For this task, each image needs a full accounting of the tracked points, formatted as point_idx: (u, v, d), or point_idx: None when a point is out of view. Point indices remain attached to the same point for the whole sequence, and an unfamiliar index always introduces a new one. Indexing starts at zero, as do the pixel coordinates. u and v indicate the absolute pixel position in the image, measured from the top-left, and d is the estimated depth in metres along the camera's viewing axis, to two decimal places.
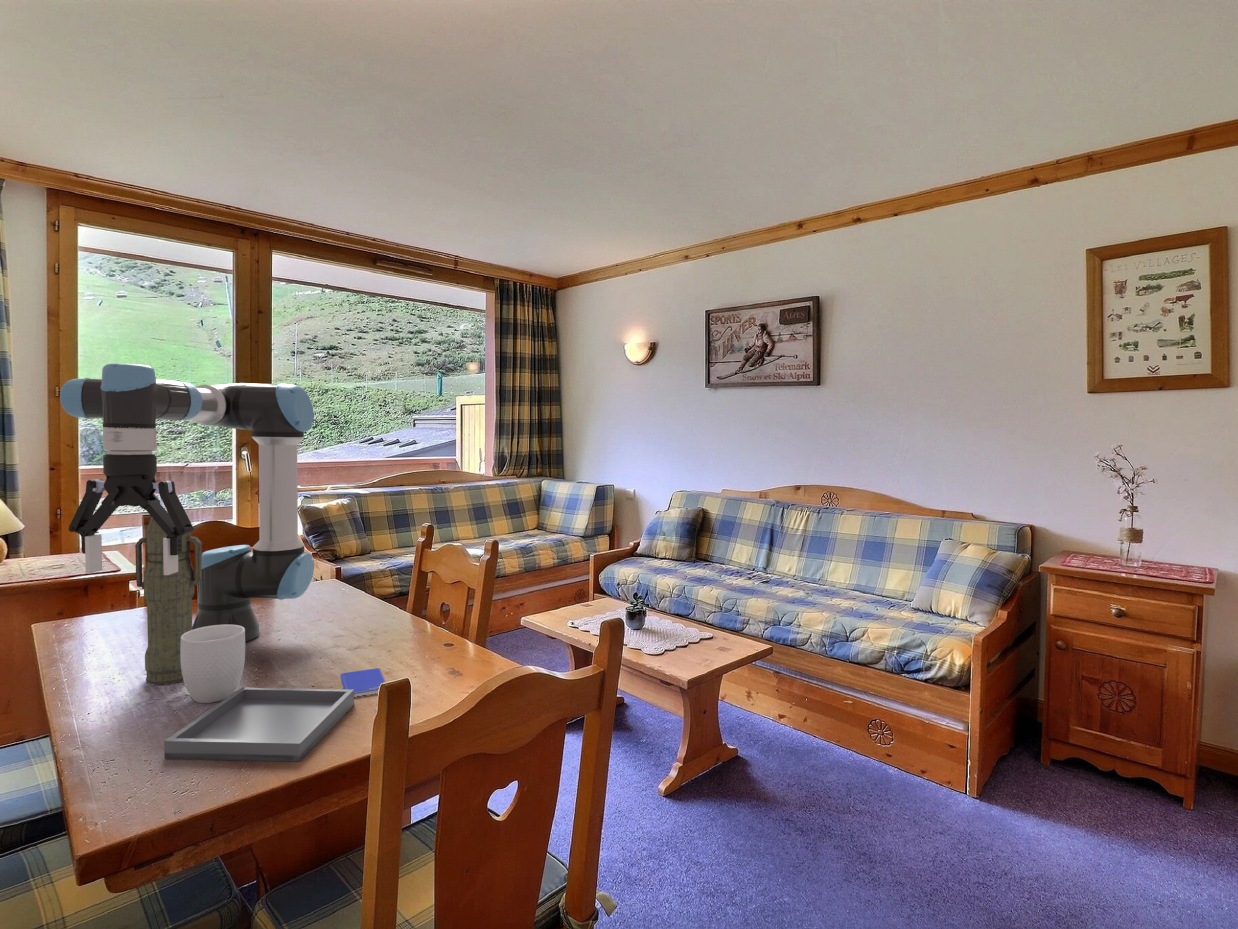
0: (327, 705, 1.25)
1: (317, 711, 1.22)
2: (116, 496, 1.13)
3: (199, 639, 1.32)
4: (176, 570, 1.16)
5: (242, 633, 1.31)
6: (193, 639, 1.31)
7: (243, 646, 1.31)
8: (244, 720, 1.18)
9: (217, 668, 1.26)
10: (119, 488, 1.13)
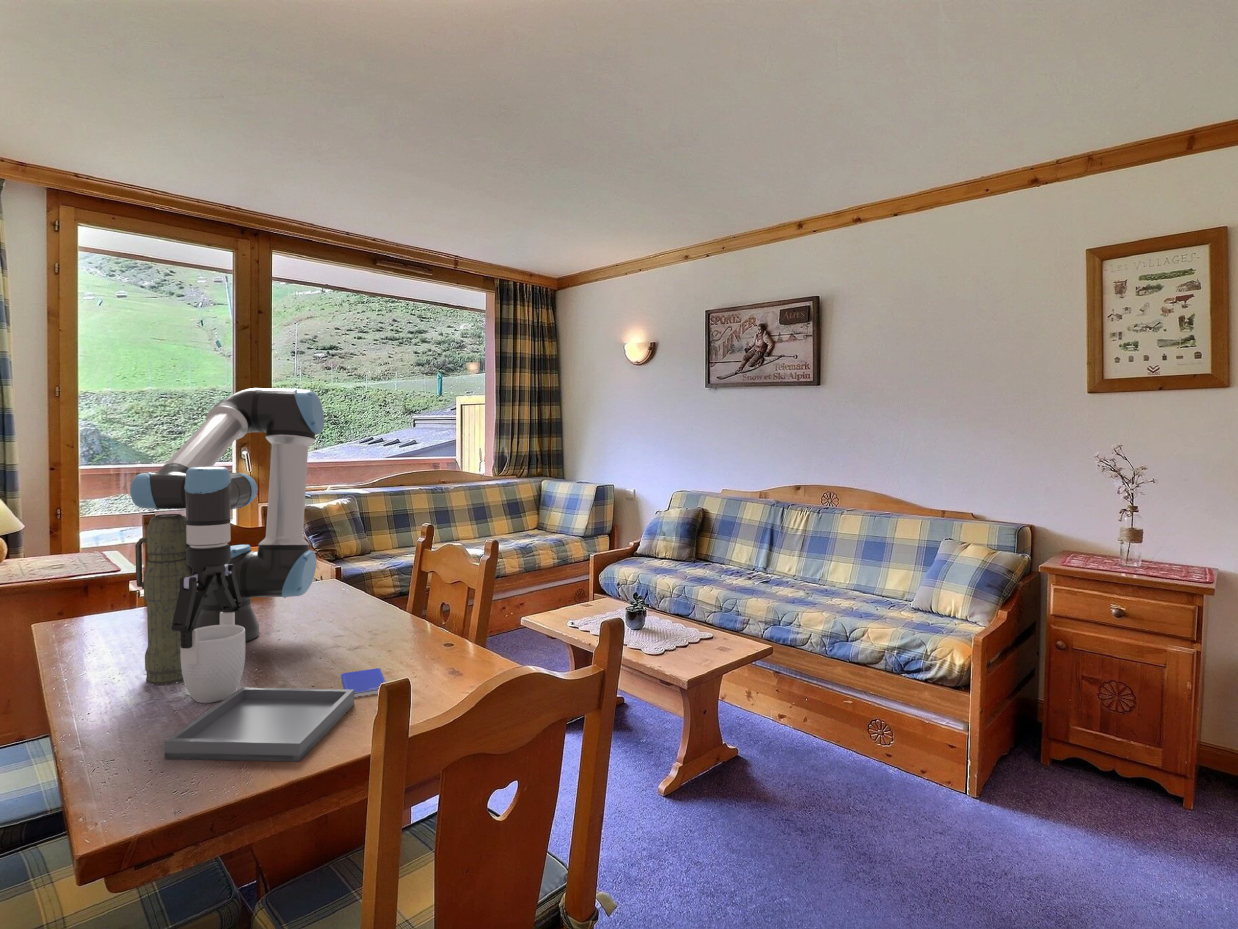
0: (327, 705, 1.25)
1: (317, 711, 1.22)
2: None
3: (199, 639, 1.32)
4: (193, 662, 1.24)
5: (242, 633, 1.31)
6: None
7: (243, 646, 1.31)
8: (244, 720, 1.18)
9: (217, 667, 1.26)
10: None
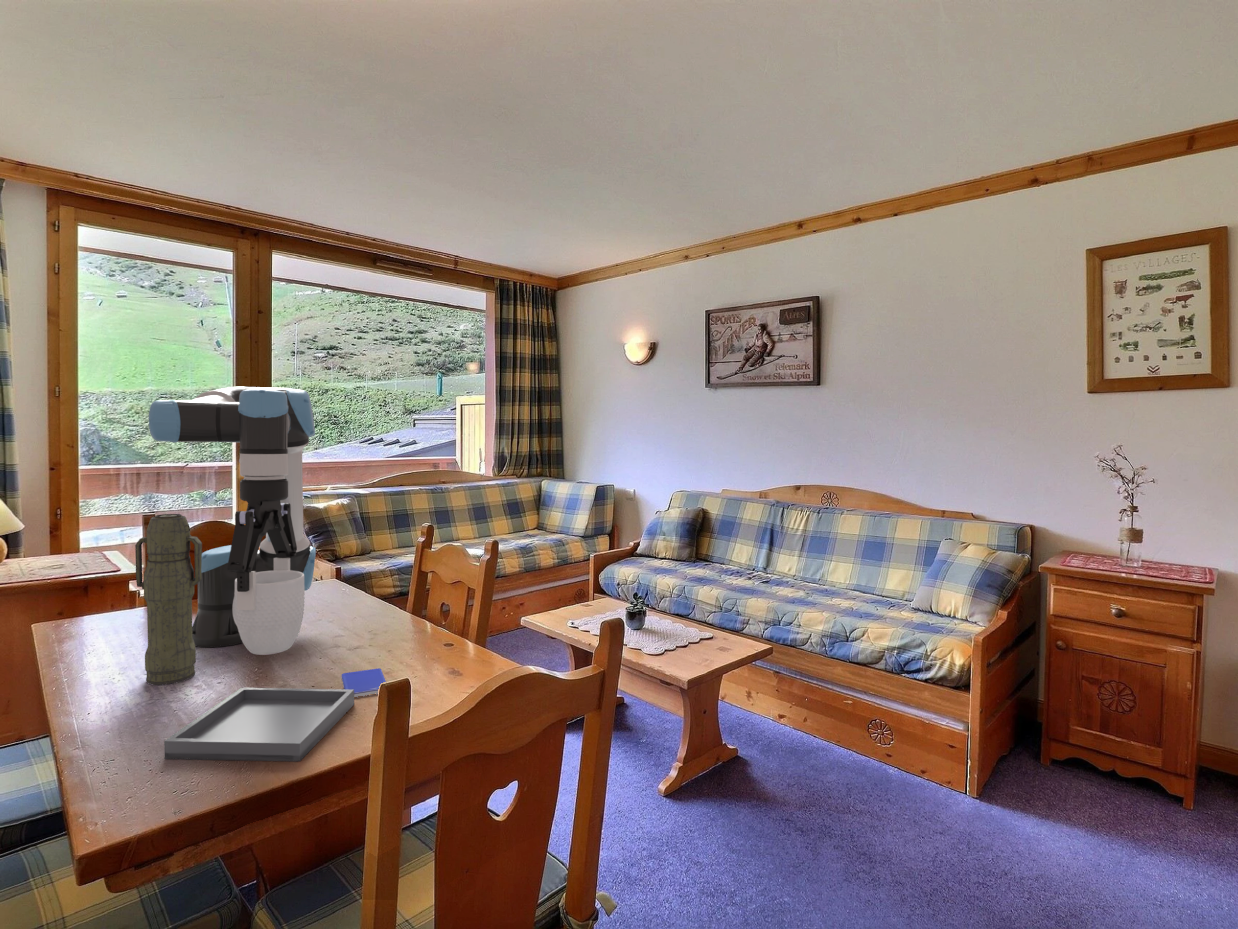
0: (327, 705, 1.25)
1: (317, 711, 1.22)
2: None
3: None
4: (250, 608, 1.10)
5: (302, 578, 1.16)
6: None
7: (303, 592, 1.17)
8: (244, 720, 1.18)
9: (276, 614, 1.12)
10: None
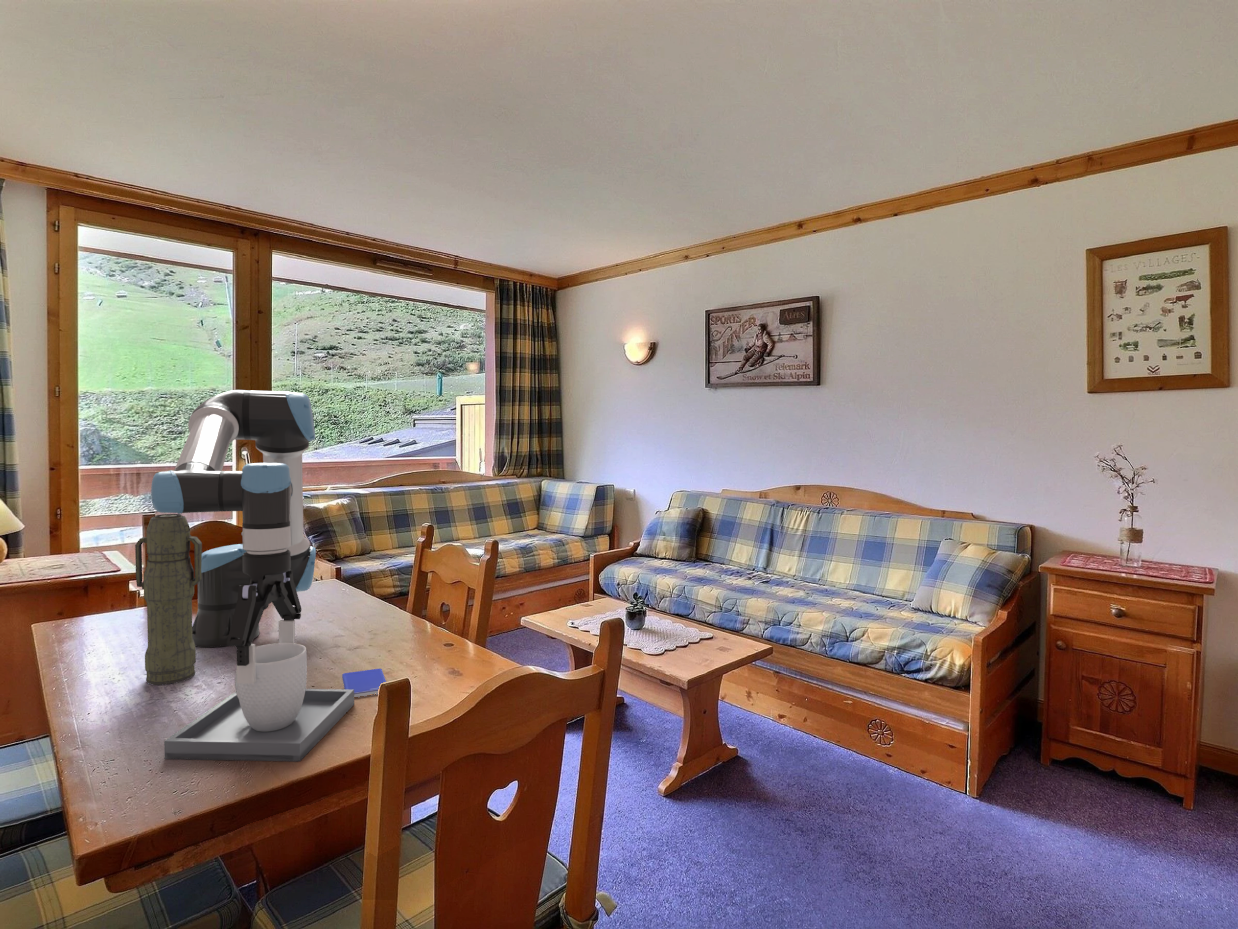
0: (327, 705, 1.25)
1: (317, 711, 1.22)
2: None
3: (256, 660, 1.19)
4: (250, 681, 1.09)
5: (304, 653, 1.17)
6: None
7: (305, 667, 1.18)
8: (244, 720, 1.18)
9: (279, 693, 1.12)
10: None
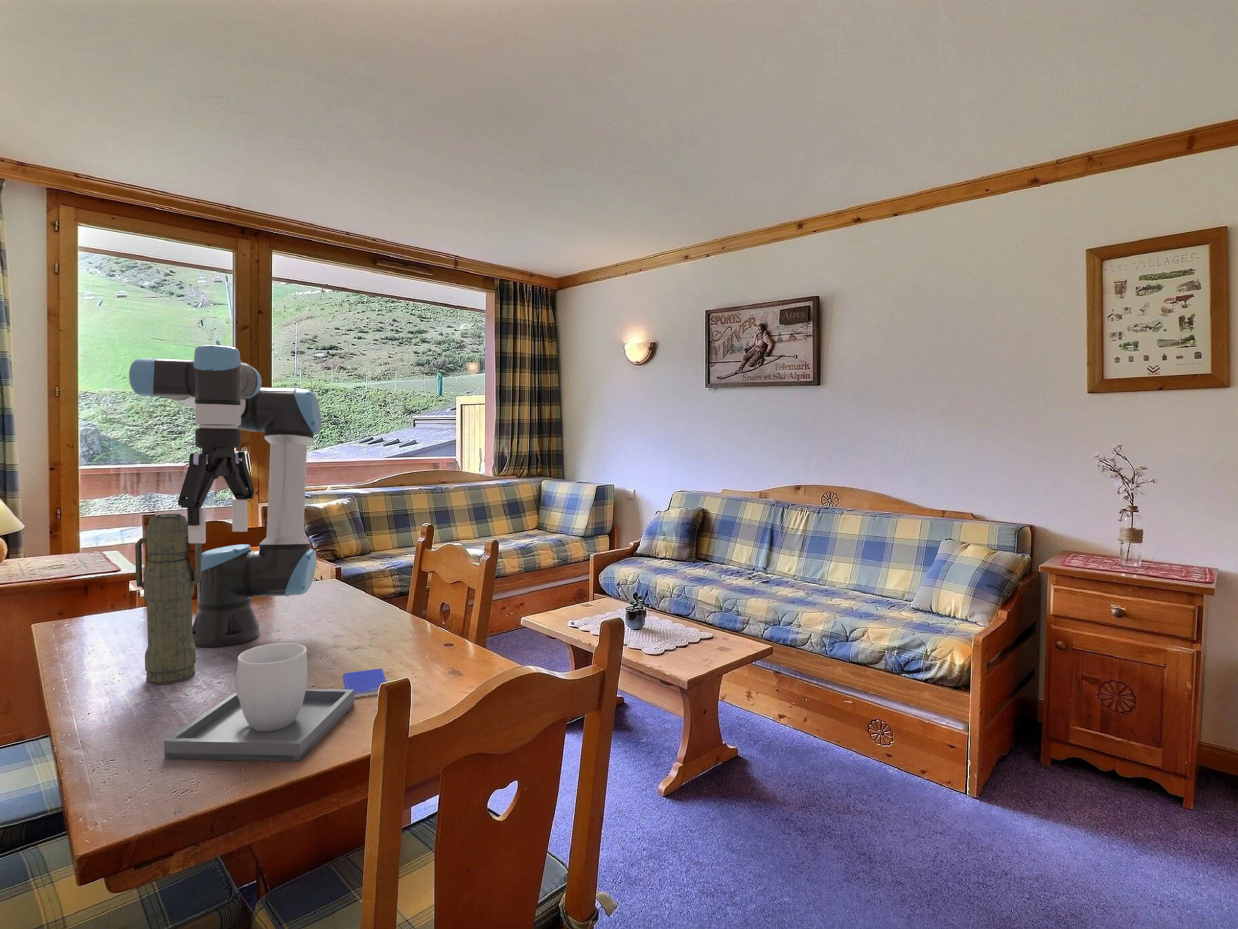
0: (327, 705, 1.25)
1: (317, 711, 1.22)
2: None
3: (256, 660, 1.19)
4: (200, 541, 1.19)
5: (305, 653, 1.17)
6: (250, 660, 1.17)
7: (305, 667, 1.18)
8: (244, 720, 1.18)
9: (279, 693, 1.12)
10: None
